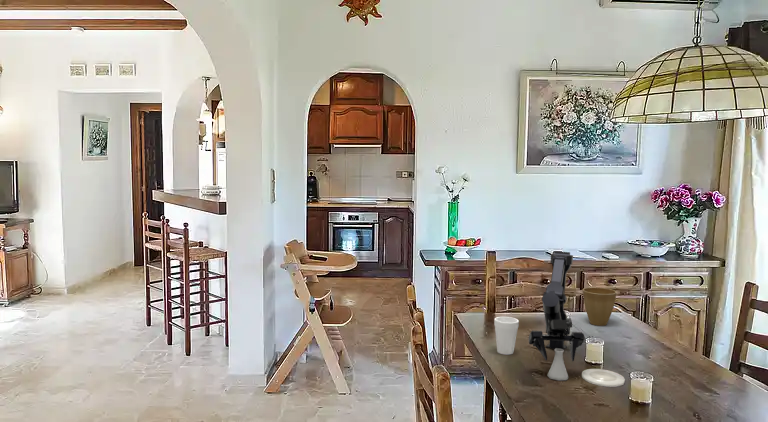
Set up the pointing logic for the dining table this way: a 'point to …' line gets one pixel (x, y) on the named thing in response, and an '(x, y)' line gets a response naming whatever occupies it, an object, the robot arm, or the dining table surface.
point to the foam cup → (506, 334)
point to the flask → (558, 366)
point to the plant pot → (599, 304)
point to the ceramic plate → (603, 377)
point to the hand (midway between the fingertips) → (559, 360)
